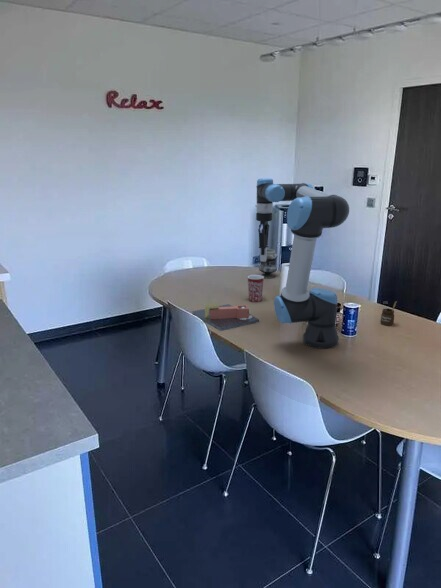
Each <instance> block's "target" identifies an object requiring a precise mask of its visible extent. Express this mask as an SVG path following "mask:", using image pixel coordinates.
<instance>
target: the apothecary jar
mask: <svg viewBox="0 0 441 588" xmlns="http://www.w3.org/2000/svg"><path fill="white" fill-rule="evenodd" d="M259 258H260V254H259ZM276 259H278V254H277V253H276V250H275V249H273V248H267V253H266V262H264V261H260V265H259V266H258V270H259V271H260V272H261V273H263V274H260V275H261V276H264V279H274V278H276V275H275V274H273V273H275V272H276V271H277V270H278V267H277V265H276Z"/></svg>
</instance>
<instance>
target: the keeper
mask: <svg viewBox="0 0 441 588" xmlns="http://www.w3.org/2000/svg"><path fill="white" fill-rule="evenodd" d="M203 305H204V309H205V319H209V309H212V308H219V306H220V305H219V302H217V301H216V302H204V303H203Z"/></svg>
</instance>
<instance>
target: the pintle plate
mask: <svg viewBox="0 0 441 588" xmlns="http://www.w3.org/2000/svg"><path fill="white" fill-rule="evenodd" d="M232 306H233V305H231V304H222V305H219V307H232ZM192 315H194V316H196V317H197V316H198V317H197V318H199V319H200V320H202V321H204V322H206V323H207V324H208V325H210V326H212V327H214V328H215V329H217V330H219V331H225V330H230V329H234V328H240V327H242V326H243V327H244V326H247V325H253V324H256V322H257V323H260V319H259V318H257V317H255V316H253V314H251V313H249V318H245V319H237V318H228V319H210V309H209V319H205V308H203V309H198V310H193V311H192Z"/></svg>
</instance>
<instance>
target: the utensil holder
mask: <svg viewBox="0 0 441 588" xmlns="http://www.w3.org/2000/svg"><path fill="white" fill-rule="evenodd" d="M397 302H398V301H396V300H395V301H394V303H393V306H392V308H389V307H385V306H382V307H383V309H382V310H381V311H382V312H381V314H380V324H381V325H383V326H387V327H389V326H393V325H394V321H395V310H394V308H395V307H396V304H397ZM384 303H387V301H384Z"/></svg>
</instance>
